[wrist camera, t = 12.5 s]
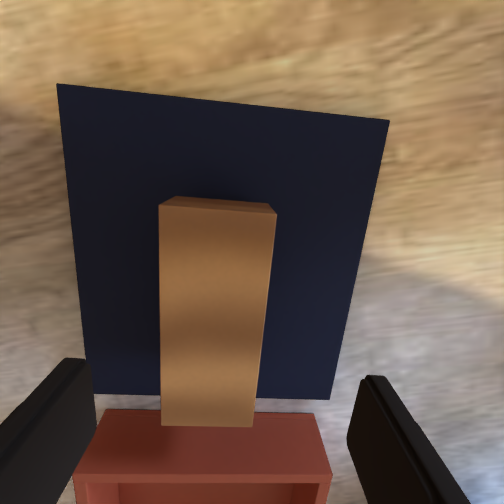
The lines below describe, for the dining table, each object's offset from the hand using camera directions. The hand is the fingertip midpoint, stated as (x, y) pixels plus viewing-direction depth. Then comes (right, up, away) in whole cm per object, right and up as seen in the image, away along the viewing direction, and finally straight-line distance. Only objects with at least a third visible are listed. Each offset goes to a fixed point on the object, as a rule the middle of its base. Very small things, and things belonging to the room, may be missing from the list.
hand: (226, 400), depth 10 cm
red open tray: (-3, -16, +15) cm, 22 cm away
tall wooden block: (-1, +3, +9) cm, 9 cm away
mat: (-1, +4, +9) cm, 10 cm away
